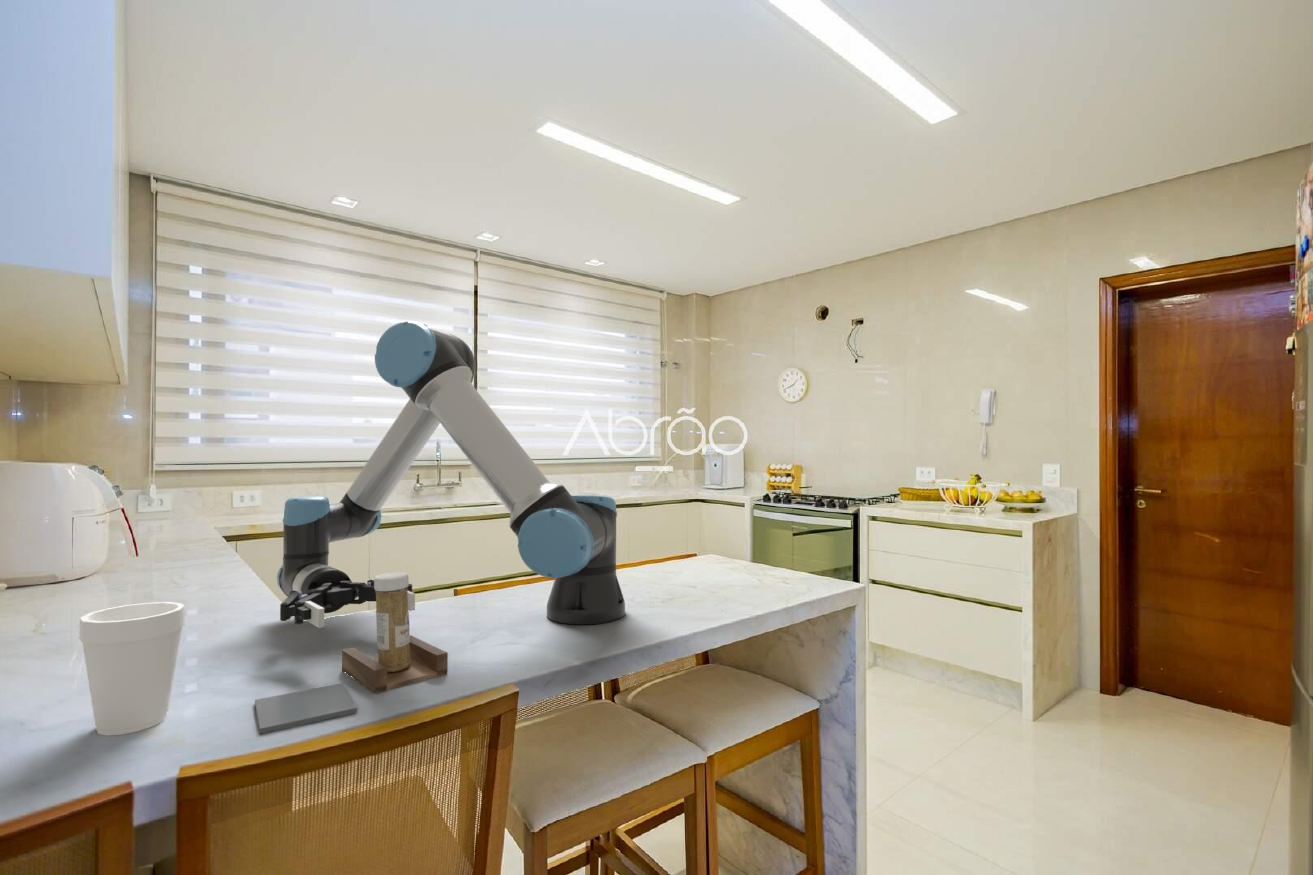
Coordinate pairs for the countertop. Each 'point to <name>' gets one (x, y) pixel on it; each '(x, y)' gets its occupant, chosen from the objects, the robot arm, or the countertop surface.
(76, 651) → the countertop surface
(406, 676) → the walnut cradle
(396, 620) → the spice jar
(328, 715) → the slate coaster
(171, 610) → the foam cup
